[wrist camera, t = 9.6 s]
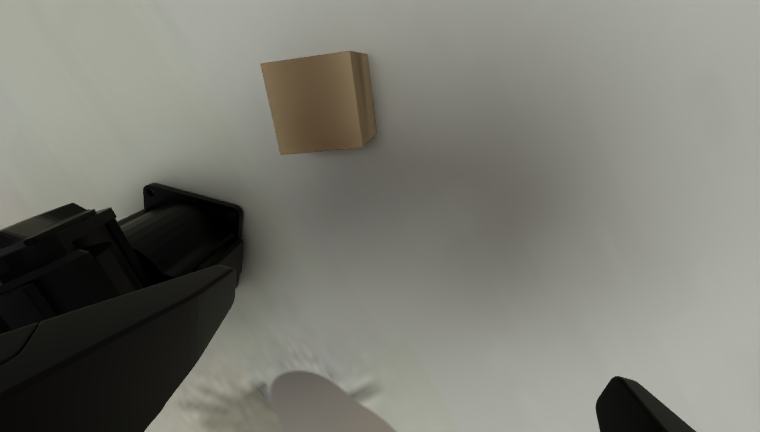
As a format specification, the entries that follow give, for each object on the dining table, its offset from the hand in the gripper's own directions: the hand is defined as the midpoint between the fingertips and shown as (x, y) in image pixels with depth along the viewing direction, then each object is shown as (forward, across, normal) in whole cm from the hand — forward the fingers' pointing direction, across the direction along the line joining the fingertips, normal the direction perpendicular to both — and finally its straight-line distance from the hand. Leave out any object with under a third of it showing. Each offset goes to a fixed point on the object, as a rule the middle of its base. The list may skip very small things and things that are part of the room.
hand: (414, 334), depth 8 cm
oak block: (+13, +6, -3) cm, 15 cm away
